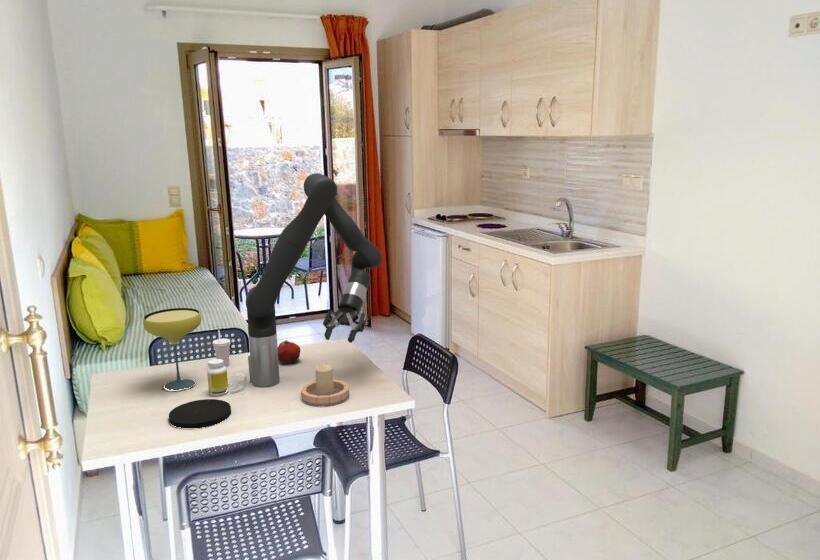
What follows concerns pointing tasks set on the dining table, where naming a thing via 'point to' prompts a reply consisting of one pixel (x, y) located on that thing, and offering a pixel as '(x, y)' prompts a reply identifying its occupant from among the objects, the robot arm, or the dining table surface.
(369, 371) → the dining table surface
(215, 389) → the pill bottle
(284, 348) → the tomato
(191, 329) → the cocktail glass
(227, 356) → the smoothie
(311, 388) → the dish
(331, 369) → the candle
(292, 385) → the dining table surface
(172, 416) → the wireless charger
